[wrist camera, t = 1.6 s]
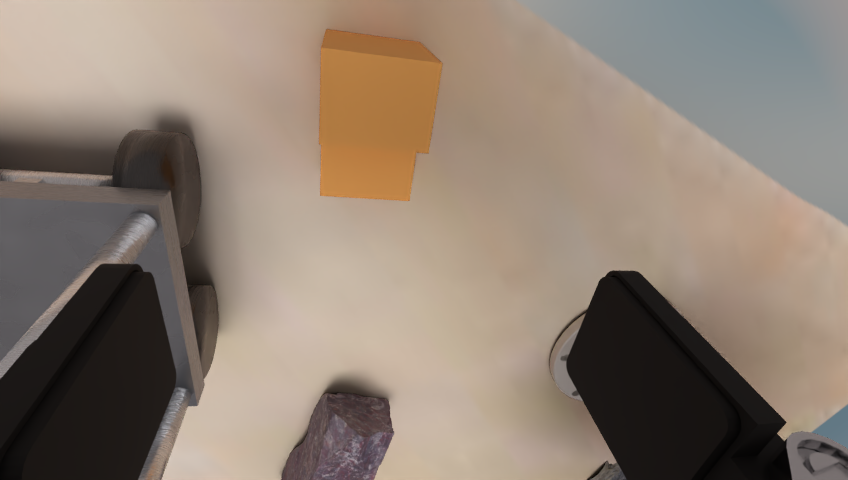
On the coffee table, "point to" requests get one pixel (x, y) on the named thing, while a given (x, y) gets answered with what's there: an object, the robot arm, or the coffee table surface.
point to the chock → (374, 113)
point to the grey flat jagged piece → (610, 473)
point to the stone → (343, 440)
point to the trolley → (110, 256)
